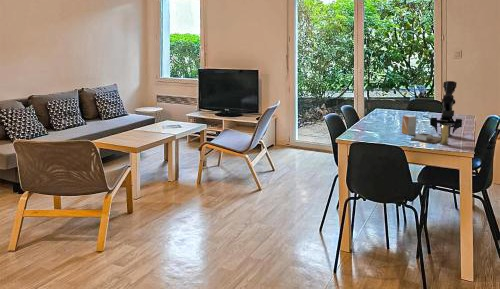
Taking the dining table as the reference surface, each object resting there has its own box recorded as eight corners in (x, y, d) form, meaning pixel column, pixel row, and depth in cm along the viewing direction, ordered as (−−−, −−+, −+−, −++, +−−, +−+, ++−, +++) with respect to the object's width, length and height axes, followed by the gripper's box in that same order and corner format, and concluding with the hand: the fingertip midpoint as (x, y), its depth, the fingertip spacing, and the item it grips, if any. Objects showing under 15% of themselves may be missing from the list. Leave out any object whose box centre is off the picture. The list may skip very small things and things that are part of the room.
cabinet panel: (424, 136, 310) (424, 135, 310) (446, 140, 298) (446, 138, 298) (410, 139, 301) (411, 138, 300) (433, 143, 288) (433, 141, 288)
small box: (401, 133, 324) (402, 115, 321) (409, 132, 325) (410, 114, 322) (407, 135, 316) (408, 116, 313) (415, 134, 317) (416, 116, 315)
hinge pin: (442, 143, 290) (443, 124, 287) (448, 144, 286) (450, 125, 284) (438, 144, 287) (440, 125, 285) (445, 145, 284) (446, 126, 281)
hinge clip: (421, 137, 303) (422, 132, 302) (432, 139, 297) (432, 134, 296) (415, 138, 298) (415, 134, 297) (426, 140, 292) (426, 136, 291)
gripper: (431, 105, 290) (428, 124, 282) (463, 106, 282) (461, 126, 274) (431, 115, 298) (428, 134, 291) (462, 117, 290) (460, 136, 283)
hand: (444, 133), depth 285 cm, fingers open, 9 cm apart
